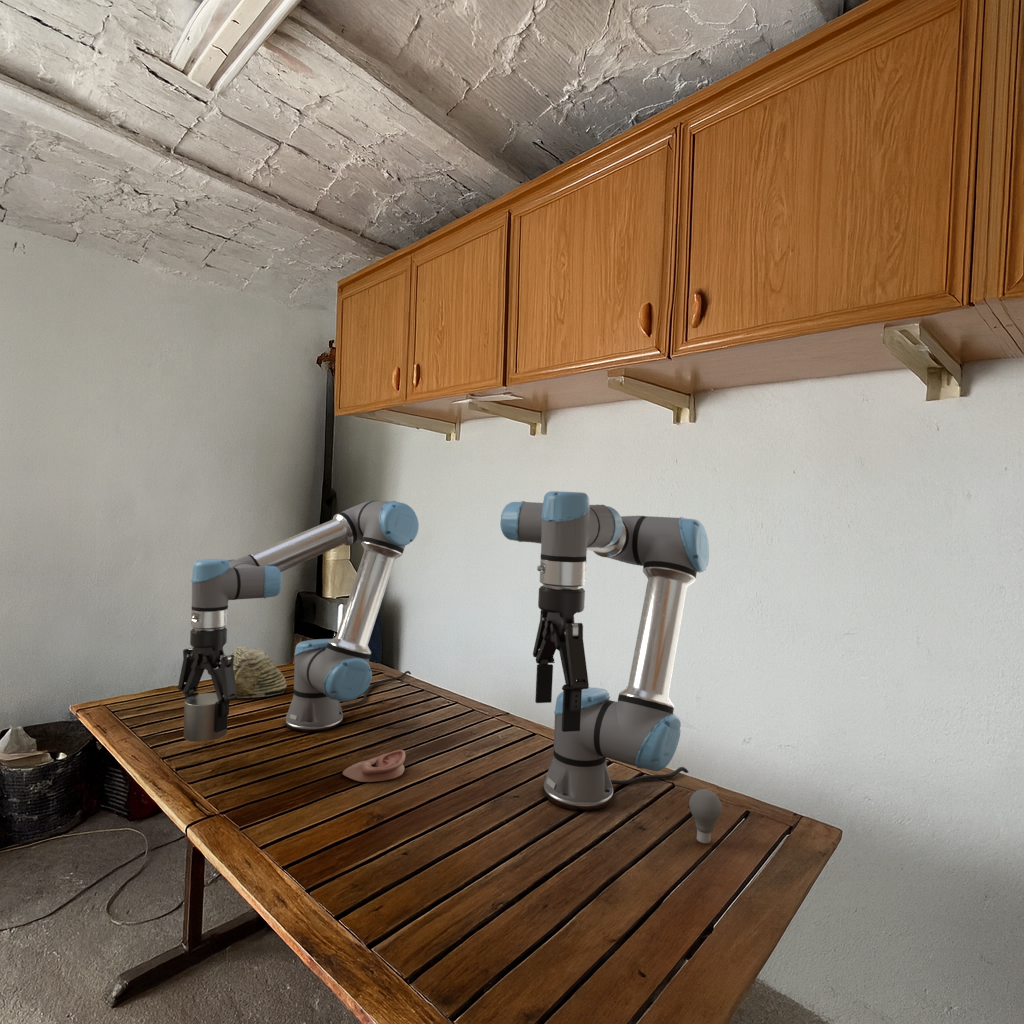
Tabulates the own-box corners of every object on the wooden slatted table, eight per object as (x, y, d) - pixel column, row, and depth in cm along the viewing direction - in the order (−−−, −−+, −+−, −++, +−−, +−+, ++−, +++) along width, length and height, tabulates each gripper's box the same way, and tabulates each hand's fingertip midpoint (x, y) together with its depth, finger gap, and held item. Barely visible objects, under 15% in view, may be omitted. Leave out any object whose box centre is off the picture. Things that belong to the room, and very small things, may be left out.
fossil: (218, 695, 195) (220, 647, 195) (278, 685, 208) (279, 640, 207) (228, 703, 189) (230, 653, 188) (289, 692, 201) (290, 645, 201)
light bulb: (682, 833, 125) (685, 783, 125) (712, 833, 125) (714, 783, 125) (694, 850, 119) (696, 797, 119) (725, 850, 119) (727, 798, 119)
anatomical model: (336, 761, 142) (359, 742, 153) (336, 778, 142) (358, 758, 153) (392, 768, 139) (411, 749, 151) (391, 786, 139) (410, 765, 151)
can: (177, 742, 139) (178, 705, 139) (190, 727, 148) (191, 693, 147) (221, 741, 140) (222, 704, 140) (231, 726, 149) (232, 692, 149)
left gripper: (161, 624, 145) (158, 722, 145) (229, 636, 136) (225, 741, 136) (191, 619, 152) (188, 712, 152) (257, 630, 142) (253, 730, 143)
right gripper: (519, 576, 114) (513, 693, 115) (566, 598, 90) (559, 746, 90) (558, 576, 116) (553, 691, 117) (615, 598, 92) (608, 743, 92)
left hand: (205, 726), depth 144 cm, fingers closed on can, 9 cm apart
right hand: (556, 715), depth 104 cm, fingers open, 13 cm apart
